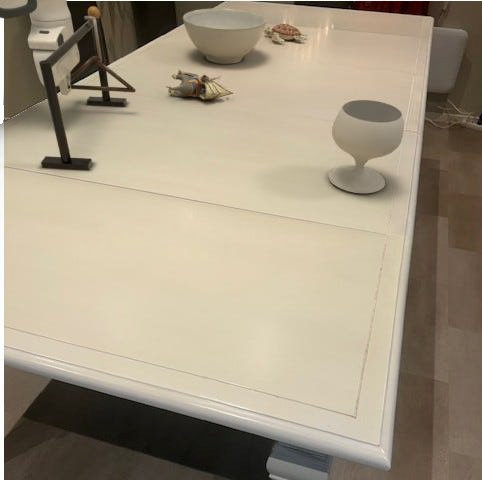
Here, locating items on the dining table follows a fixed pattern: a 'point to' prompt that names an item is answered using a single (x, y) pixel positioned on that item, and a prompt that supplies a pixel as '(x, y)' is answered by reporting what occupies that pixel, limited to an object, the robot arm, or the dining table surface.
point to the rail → (54, 106)
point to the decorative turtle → (284, 33)
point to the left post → (102, 71)
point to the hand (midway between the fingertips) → (66, 93)
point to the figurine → (197, 86)
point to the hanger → (99, 61)
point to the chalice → (365, 142)
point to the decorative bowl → (224, 32)
